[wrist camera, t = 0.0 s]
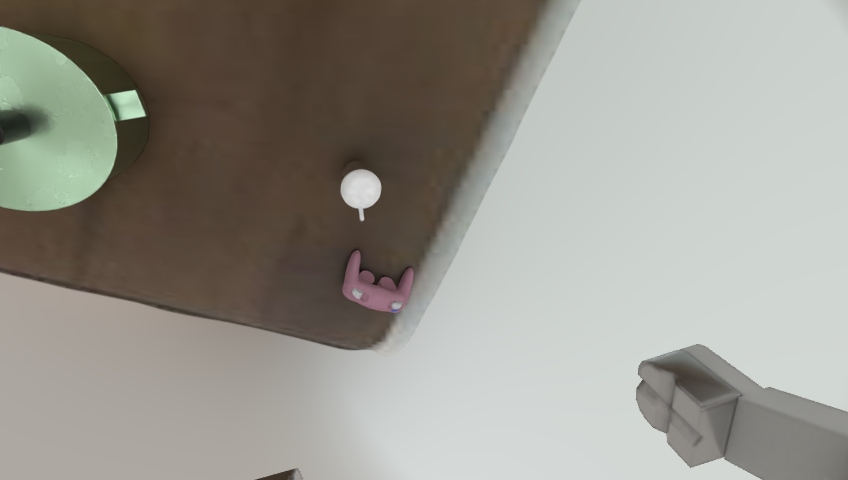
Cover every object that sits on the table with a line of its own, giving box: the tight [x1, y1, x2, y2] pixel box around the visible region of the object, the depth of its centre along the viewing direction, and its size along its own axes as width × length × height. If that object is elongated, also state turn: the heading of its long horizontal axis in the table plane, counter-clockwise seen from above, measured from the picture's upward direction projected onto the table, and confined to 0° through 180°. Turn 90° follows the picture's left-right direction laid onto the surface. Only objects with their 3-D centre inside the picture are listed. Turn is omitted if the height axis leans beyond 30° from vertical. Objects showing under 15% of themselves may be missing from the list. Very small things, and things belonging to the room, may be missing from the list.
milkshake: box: [341, 160, 381, 221], centre depth 51 cm, size 4×5×10 cm
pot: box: [27, 33, 150, 179], centre depth 41 cm, size 15×20×10 cm
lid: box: [0, 26, 120, 211], centre depth 35 cm, size 16×16×5 cm
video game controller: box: [342, 250, 414, 313], centre depth 59 cm, size 10×5×7 cm, turn 64°
